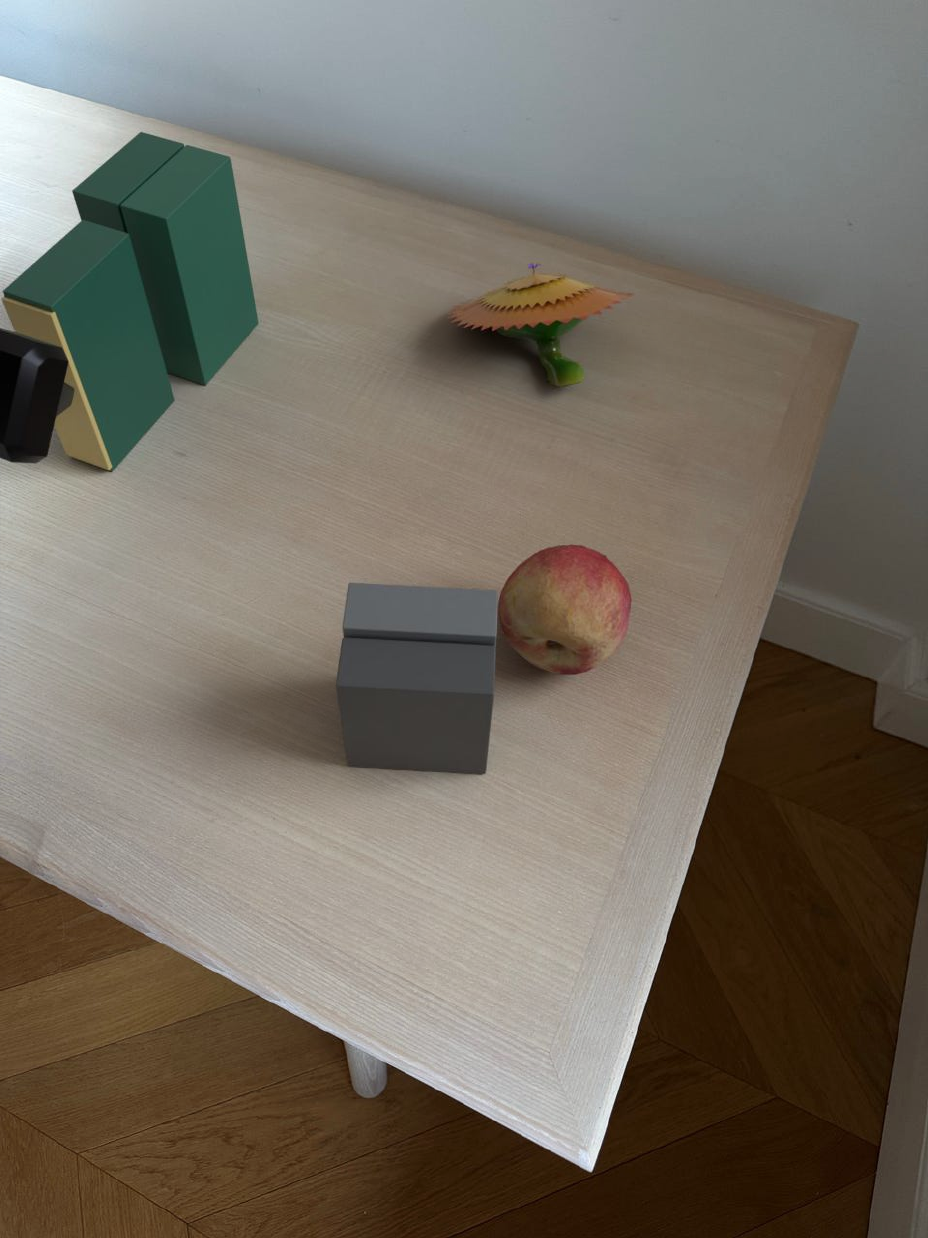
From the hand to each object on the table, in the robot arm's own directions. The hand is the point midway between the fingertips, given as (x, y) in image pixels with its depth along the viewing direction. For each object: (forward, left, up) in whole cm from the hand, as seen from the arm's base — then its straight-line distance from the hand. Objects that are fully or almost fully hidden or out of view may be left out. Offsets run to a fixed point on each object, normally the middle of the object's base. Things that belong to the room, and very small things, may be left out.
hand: (7, 374), depth 61 cm
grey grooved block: (+19, -25, -10) cm, 33 cm away
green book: (+5, +5, -10) cm, 13 cm away
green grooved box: (+11, +13, -10) cm, 20 cm away
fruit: (+29, -22, -11) cm, 38 cm away
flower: (+37, +6, -11) cm, 39 cm away
